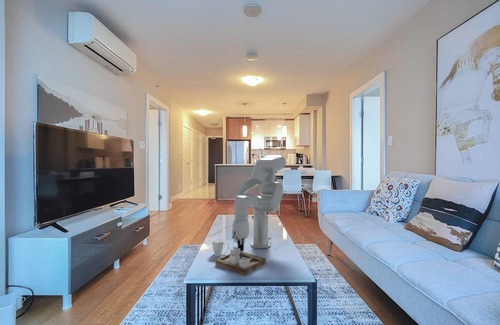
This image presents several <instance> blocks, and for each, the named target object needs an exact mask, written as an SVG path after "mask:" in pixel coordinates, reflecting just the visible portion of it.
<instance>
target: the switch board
mask: <svg viewBox="0 0 500 325" xmlns="http://www.w3.org/2000/svg"><path fill="white" fill-rule="evenodd" d="M230 254H231V253H229V254H226V255H224V256H222V257H220V258H217V259H215V266H216V267H220V268H222V269H225V270H228V272H229V271H230V272H232V273H235V274H237V275H240V276H243V277H245V276H247V275H248V274H250V273H252V272H253V271H256V270H257V269H260V268H261V267H262V266H264V265H266V264H267V258H266V257H261V256H258V255H255V254H252V253H249V252H246V251H242V252H241V251H240V255H239V256H240V259H242V257H245V258H248V259H250V266H249V267H247V268H245V269H244V268H241V267H239V263H238V264H236V265H233V264H231V263H229V256H230Z"/></svg>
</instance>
